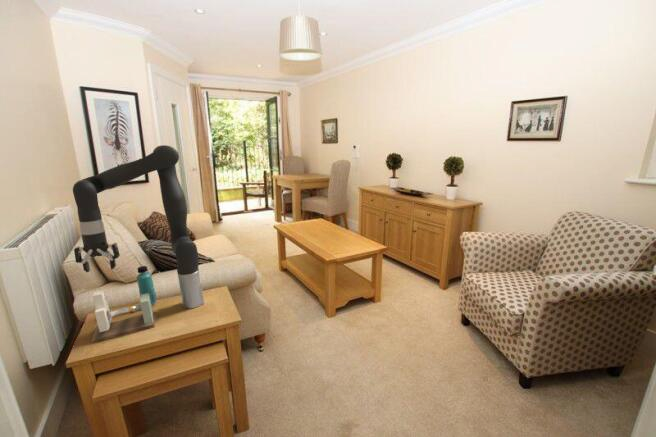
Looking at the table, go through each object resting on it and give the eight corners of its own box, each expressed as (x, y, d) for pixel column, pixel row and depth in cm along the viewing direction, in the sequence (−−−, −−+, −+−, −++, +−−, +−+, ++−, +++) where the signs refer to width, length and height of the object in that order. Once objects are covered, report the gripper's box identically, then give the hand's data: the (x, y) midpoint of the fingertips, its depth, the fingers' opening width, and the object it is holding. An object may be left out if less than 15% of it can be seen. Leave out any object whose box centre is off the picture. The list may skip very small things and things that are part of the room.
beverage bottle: (150, 309, 148) (142, 270, 143) (138, 308, 149) (130, 269, 144) (160, 302, 154) (153, 264, 149) (149, 301, 155) (141, 264, 150)
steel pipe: (147, 307, 137) (146, 301, 136) (146, 310, 134) (145, 304, 133) (97, 319, 129) (96, 312, 128) (96, 322, 126) (94, 316, 126)
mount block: (153, 313, 141) (149, 292, 138) (152, 322, 134) (148, 300, 131) (145, 315, 139) (141, 294, 137) (144, 324, 133) (140, 302, 130)
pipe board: (155, 314, 143) (154, 311, 142) (154, 327, 133) (154, 323, 133) (97, 329, 133) (96, 326, 133) (92, 343, 124) (91, 340, 123)
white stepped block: (111, 319, 134) (104, 287, 130) (108, 330, 126) (100, 296, 122) (103, 321, 133) (95, 289, 129) (99, 332, 125) (91, 298, 121)
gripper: (116, 227, 127) (123, 264, 131) (75, 230, 123) (83, 269, 126) (111, 231, 120) (118, 271, 124) (66, 235, 116) (75, 276, 120)
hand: (100, 270), depth 125 cm, fingers open, 8 cm apart
